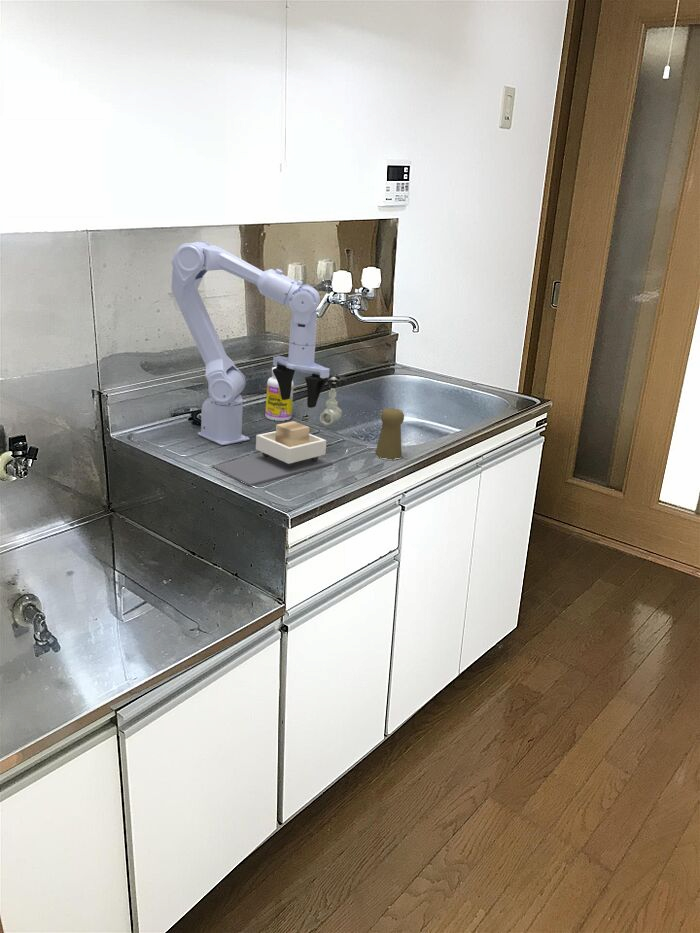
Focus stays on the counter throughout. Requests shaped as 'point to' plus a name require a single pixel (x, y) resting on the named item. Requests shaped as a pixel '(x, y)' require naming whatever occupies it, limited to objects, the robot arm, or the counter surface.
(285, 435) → the wooden block
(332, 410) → the valve
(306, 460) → the flat gray panel
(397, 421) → the cork
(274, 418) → the supplement bottle
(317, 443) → the white square tray
